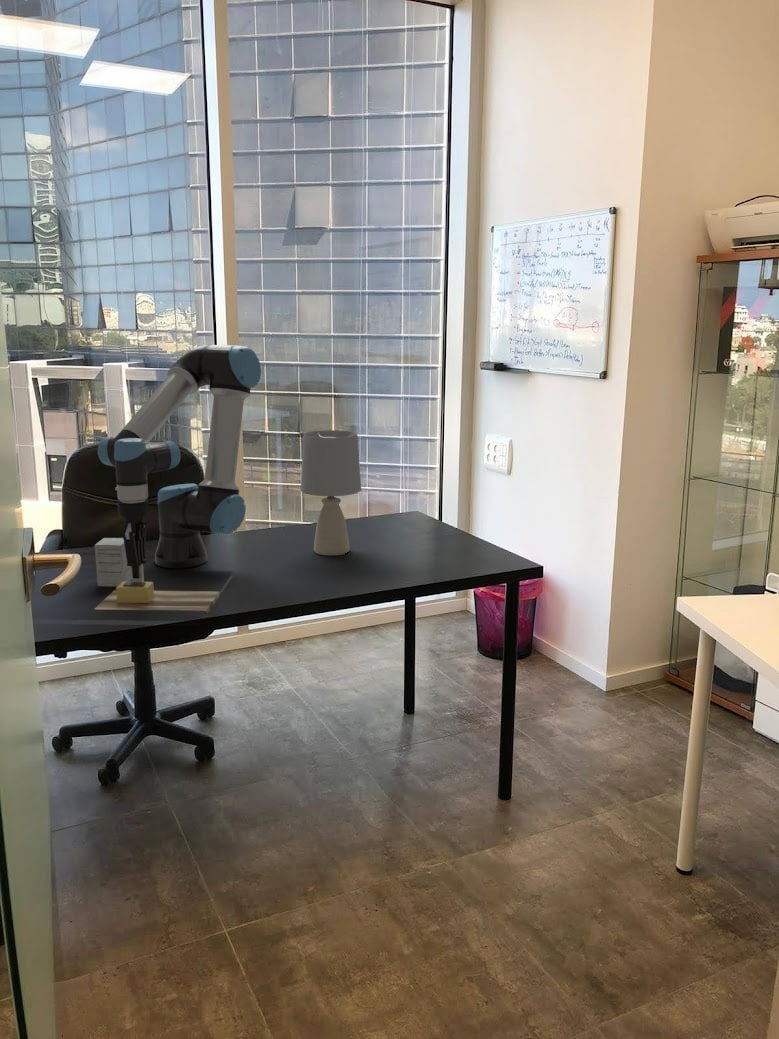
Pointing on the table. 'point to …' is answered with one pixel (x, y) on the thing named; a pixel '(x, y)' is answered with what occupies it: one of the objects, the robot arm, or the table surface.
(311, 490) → the lamp
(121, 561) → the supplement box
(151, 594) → the block
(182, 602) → the plywood panel
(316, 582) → the table surface
